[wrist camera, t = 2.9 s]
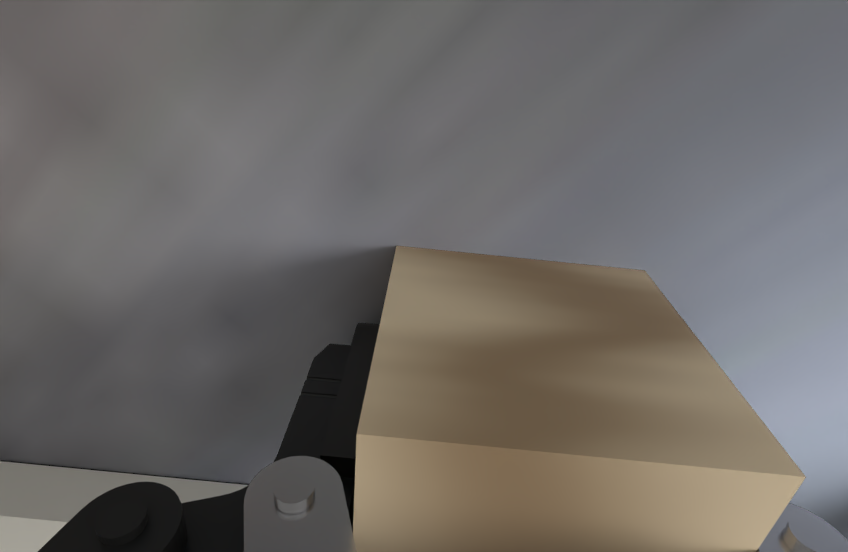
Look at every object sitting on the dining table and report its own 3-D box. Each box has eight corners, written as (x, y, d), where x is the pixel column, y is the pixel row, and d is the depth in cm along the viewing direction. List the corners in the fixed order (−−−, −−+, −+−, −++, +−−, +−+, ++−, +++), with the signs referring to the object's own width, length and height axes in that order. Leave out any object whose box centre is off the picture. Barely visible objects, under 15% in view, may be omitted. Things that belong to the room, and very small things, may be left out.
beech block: (644, 270, 10) (805, 477, 5) (584, 448, 12) (662, 692, 8) (396, 245, 10) (356, 434, 5) (383, 428, 12) (348, 664, 8)
